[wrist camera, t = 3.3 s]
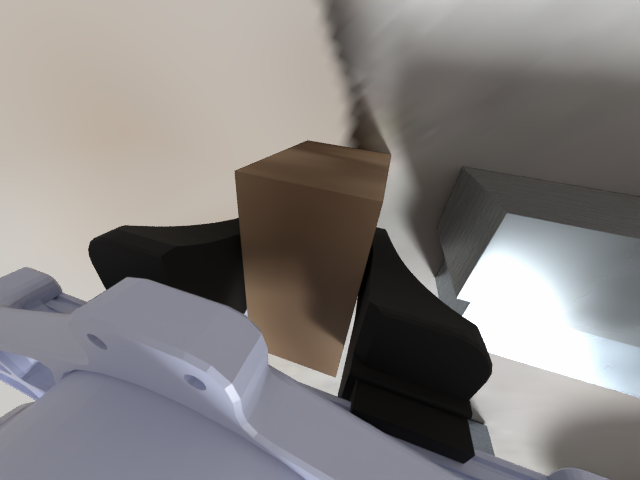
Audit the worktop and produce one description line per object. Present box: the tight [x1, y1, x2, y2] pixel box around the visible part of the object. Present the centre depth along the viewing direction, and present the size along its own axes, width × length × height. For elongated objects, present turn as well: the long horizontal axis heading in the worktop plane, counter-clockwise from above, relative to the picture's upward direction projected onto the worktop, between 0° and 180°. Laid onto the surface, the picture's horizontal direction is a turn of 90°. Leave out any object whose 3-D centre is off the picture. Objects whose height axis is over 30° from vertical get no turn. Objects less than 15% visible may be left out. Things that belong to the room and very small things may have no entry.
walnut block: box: [235, 141, 391, 377], centre depth 11 cm, size 4×8×6 cm, turn 174°
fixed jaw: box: [435, 167, 640, 398], centre depth 9 cm, size 10×6×5 cm, turn 84°
